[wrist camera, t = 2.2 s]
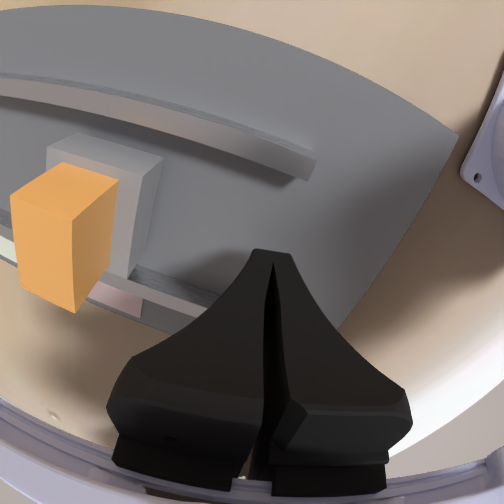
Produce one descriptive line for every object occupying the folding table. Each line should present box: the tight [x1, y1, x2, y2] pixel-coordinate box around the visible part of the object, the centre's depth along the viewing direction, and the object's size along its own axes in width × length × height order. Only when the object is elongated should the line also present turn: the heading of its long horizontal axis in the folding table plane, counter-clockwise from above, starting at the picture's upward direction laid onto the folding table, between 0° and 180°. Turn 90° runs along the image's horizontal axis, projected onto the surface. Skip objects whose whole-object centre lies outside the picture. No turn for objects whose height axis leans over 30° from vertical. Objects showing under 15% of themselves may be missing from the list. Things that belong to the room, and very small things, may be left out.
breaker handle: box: [10, 133, 164, 314], centre depth 10 cm, size 4×4×5 cm
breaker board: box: [0, 5, 459, 335], centre depth 12 cm, size 22×15×3 cm
